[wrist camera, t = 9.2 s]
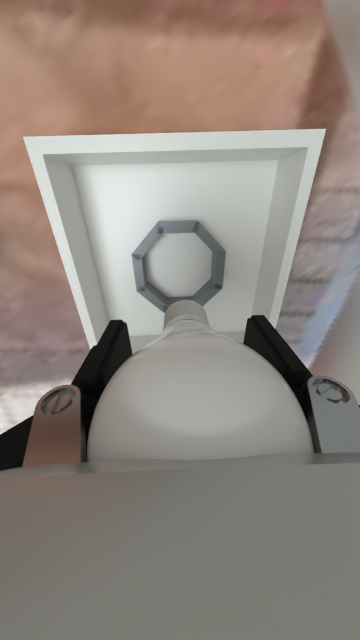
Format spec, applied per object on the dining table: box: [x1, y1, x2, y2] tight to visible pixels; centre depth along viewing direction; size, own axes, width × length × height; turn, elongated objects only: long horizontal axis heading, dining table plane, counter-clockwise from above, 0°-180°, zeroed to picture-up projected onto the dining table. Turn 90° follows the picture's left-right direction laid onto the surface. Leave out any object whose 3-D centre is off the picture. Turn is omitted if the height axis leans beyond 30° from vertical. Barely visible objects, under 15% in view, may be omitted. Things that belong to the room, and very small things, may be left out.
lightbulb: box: [86, 300, 315, 462], centre depth 8 cm, size 6×6×11 cm
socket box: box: [23, 129, 326, 354], centre depth 23 cm, size 22×22×6 cm
